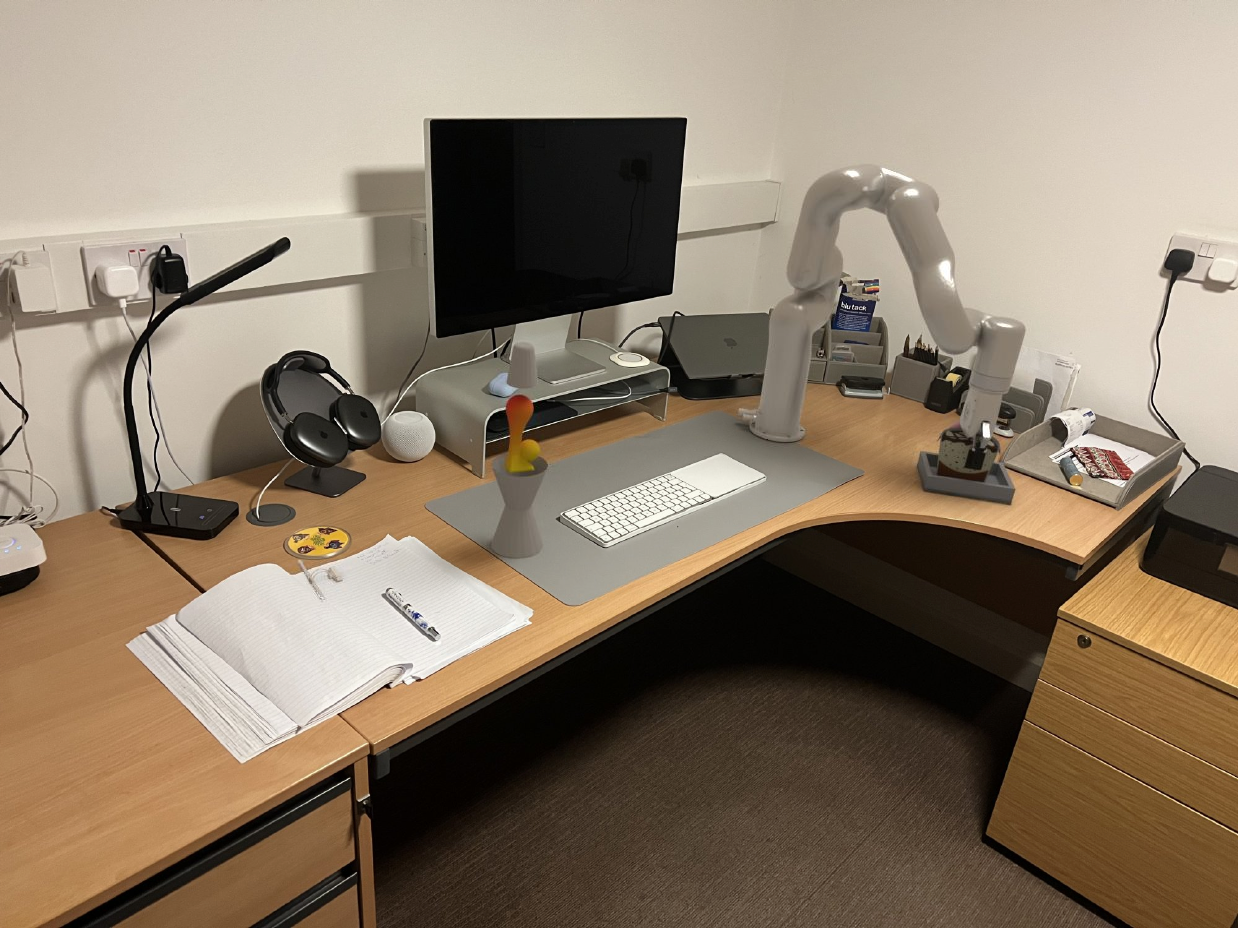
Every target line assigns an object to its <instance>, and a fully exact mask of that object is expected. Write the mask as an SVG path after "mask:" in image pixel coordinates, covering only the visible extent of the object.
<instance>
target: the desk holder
mask: <svg viewBox="0 0 1238 928" xmlns="http://www.w3.org/2000/svg"><path fill="white" fill-rule="evenodd" d="M938 455H939V452H932V451H925V450H920V452H919V455H918V459H917V464H916V467H917V471H918V475H919V479H920V482H921V486H922V490H923V492H925V493H932V494H938V495H944V496H950V497H958V498H964V499H972V500H975V501H976V500H977V501H985V502H990V503H997V504H1003V505H1012V502H1013V499H1014V495H1015V492H1016V486H1015V485H1014V484H1013V481H1012V479H1011V476H1010V475H1009V473H1008V471H1007V469H1006V466H1005V464H1004V463H1003V462H1002V461H1001V462H1000V461H999V462H998V461H994V463H993V465H992V467H991V470H990V472H989V474H988V477H987V479H986V481H985V483H984V482H977V481H971V480H964V479H957V478H951V477H944V476H937V475H936V471H937V463H938Z"/></svg>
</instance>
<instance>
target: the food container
mask: <svg viewBox="0 0 1238 928" xmlns="http://www.w3.org/2000/svg"><path fill="white" fill-rule="evenodd" d="M976 436H981V435H977V434H976ZM939 441H940V442H939ZM936 442H939V449H938V450H939V451H938V453H939V455H938V463H937V471H936V475H937V476H944V477H951V478H957V479H964V480H971V481H977V482H984V483H985V481H986V479H987V477H988V474H989V472H990V470H991V467H992V465H993V463H994V462H995V460H996V458H997V455H998V454H999V456H1001V453H1002V452H1001V451H1002V449H1001V448H1002V446H1001V443H1000V441H999V440H998V439H997V438H996V437H995V436H993V435H992V438H991V439H990V440H989V442H988V446H987V447H988V448H987V452H986V455H985V459H984V462H983V466H982V469H981V470H974V469H967V468H965V462H966V459H967V455H968V451H969V449H971V444H972V437H969V438H967V437H966V436H965V435H964V433H963V430H962V428H961V427H952V428H949V427H948V428H945V429H943V431H942V432H941V433H940V434H939V437H938V439H937V440H936ZM978 442H980V441H979V440H976V444H977V443H978Z"/></svg>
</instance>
